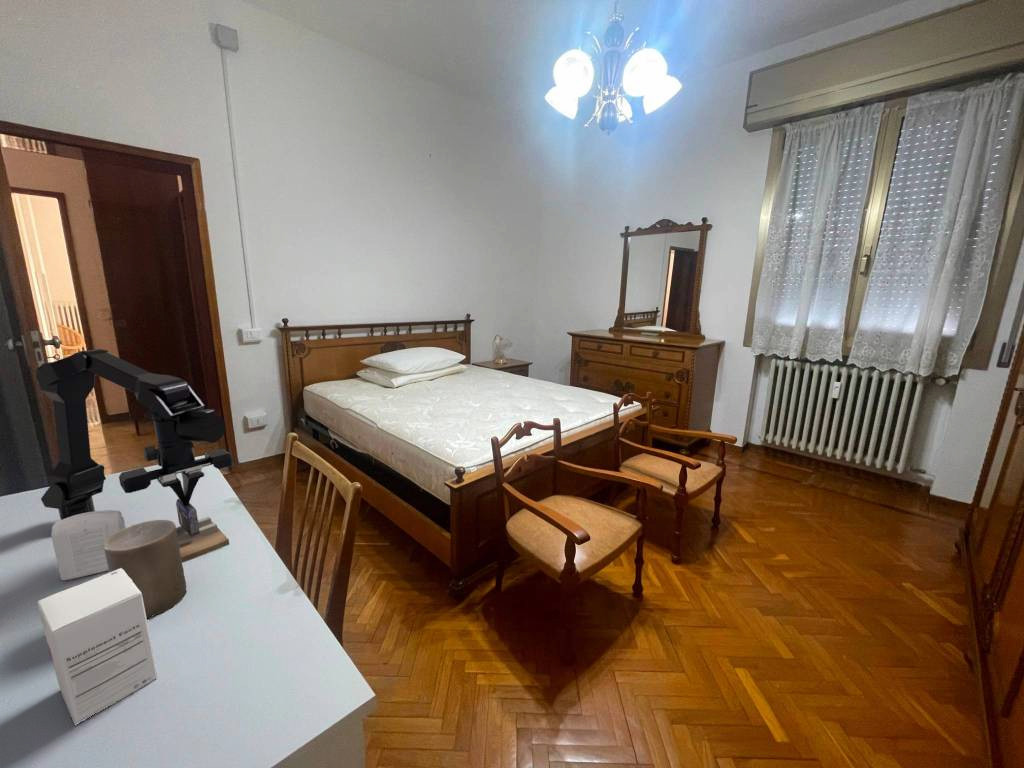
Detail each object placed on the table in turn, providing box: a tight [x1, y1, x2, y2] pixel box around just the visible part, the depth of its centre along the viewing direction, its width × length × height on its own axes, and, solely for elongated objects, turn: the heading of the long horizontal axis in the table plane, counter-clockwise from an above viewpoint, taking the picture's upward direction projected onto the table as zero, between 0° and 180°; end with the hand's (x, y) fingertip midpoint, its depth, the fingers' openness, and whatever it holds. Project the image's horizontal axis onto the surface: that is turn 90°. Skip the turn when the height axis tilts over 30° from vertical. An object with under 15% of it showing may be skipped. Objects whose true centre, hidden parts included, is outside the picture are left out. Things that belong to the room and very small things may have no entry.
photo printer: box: [50, 509, 126, 581], centre depth 83 cm, size 10×4×12 cm, turn 123°
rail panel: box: [176, 516, 230, 564], centre depth 92 cm, size 14×12×3 cm
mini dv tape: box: [175, 498, 200, 537], centre depth 93 cm, size 8×2×6 cm, turn 53°
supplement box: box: [37, 568, 158, 725], centre depth 59 cm, size 9×9×15 cm
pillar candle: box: [103, 519, 188, 618], centre depth 75 cm, size 10×10×15 cm
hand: (185, 504), depth 92 cm, fingers closed, pressing on mini dv tape
